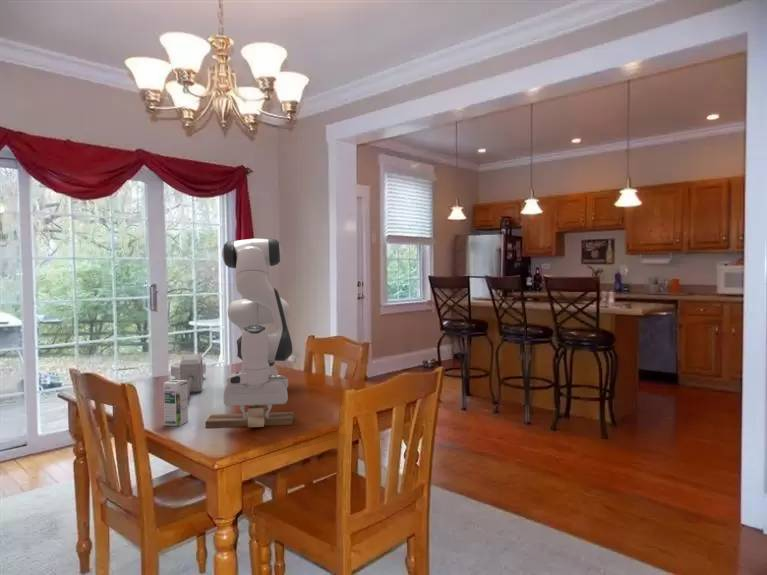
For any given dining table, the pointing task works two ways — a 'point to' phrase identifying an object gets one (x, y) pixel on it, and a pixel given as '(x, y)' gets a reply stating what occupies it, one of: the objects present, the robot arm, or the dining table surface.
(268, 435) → the dining table surface
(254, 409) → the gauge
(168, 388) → the syrup box
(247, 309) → the robot arm
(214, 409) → the dining table surface
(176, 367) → the gray cross block
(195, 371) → the hammer
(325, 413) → the dining table surface
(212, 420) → the plank
